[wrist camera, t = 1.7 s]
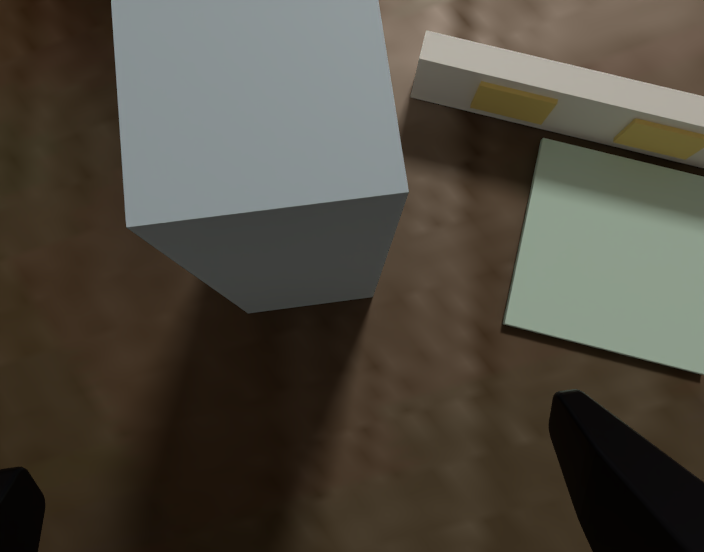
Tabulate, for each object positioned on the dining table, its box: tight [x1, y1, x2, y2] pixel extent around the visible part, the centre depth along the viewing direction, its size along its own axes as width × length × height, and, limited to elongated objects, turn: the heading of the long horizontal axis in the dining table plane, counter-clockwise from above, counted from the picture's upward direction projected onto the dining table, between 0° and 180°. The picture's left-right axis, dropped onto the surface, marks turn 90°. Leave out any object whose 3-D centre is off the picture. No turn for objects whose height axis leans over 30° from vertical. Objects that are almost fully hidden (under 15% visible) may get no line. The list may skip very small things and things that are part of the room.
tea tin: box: [111, 0, 409, 313], centre depth 17 cm, size 5×5×13 cm
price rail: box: [410, 30, 704, 168], centre depth 23 cm, size 1×20×3 cm, turn 75°
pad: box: [503, 138, 704, 375], centre depth 23 cm, size 8×8×1 cm
